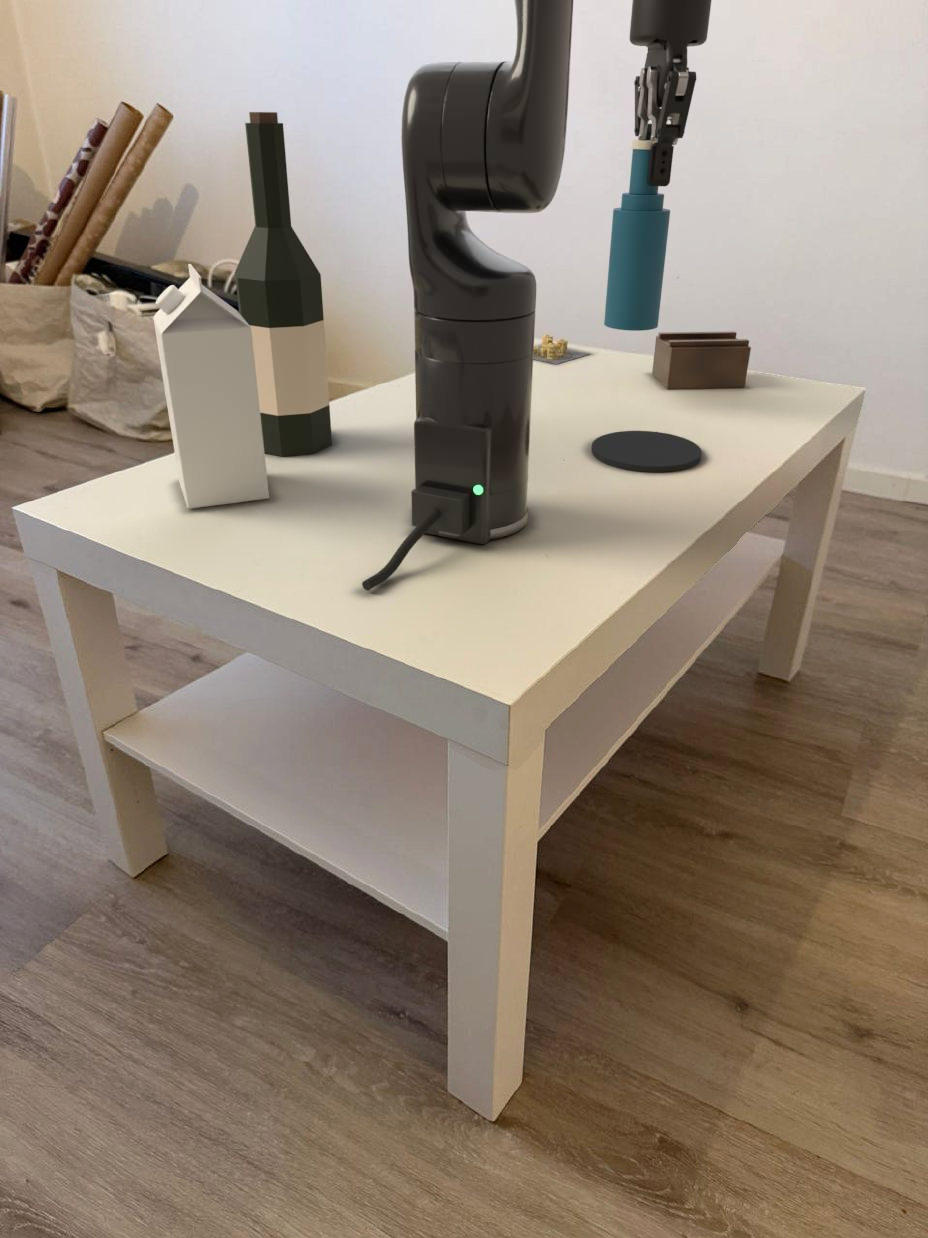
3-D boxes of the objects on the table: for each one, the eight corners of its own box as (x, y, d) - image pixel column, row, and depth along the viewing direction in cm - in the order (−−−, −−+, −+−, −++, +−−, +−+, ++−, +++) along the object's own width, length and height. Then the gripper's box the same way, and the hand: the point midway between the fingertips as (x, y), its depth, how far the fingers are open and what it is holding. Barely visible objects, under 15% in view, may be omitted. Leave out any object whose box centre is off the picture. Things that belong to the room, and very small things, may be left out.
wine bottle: (340, 431, 97) (321, 111, 82) (322, 458, 90) (297, 112, 75) (265, 428, 98) (231, 111, 83) (241, 454, 91) (200, 111, 76)
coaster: (687, 479, 86) (688, 473, 85) (577, 461, 90) (577, 456, 89) (711, 444, 94) (711, 439, 94) (609, 430, 98) (609, 424, 98)
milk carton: (256, 473, 86) (232, 261, 77) (270, 500, 80) (246, 274, 71) (179, 482, 84) (144, 265, 74) (187, 511, 78) (151, 279, 69)
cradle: (725, 373, 120) (732, 329, 117) (744, 387, 114) (752, 342, 111) (651, 374, 119) (656, 330, 116) (667, 389, 113) (672, 343, 110)
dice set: (546, 347, 131) (546, 334, 130) (574, 353, 128) (575, 339, 127) (524, 353, 128) (524, 339, 127) (552, 360, 125) (553, 345, 124)
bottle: (665, 329, 100) (613, 331, 99) (646, 319, 105) (597, 320, 104) (686, 141, 91) (630, 140, 90) (665, 139, 96) (611, 139, 96)
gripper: (617, -6, 93) (602, 180, 101) (655, -25, 81) (635, 189, 89) (688, -4, 94) (668, 181, 102) (737, -23, 81) (709, 189, 90)
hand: (653, 183), depth 95 cm, fingers closed on bottle, 3 cm apart
